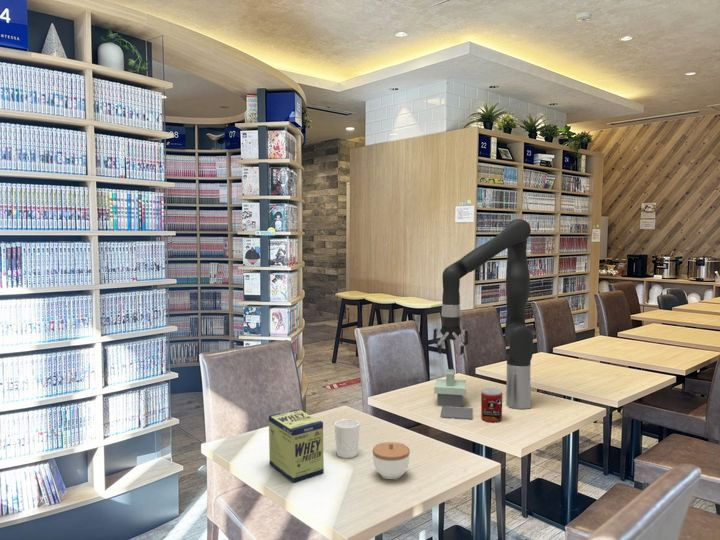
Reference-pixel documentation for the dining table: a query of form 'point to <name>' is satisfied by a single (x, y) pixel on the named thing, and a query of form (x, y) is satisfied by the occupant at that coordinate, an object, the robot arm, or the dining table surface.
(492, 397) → the canned food
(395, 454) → the lidded jar
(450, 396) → the tub
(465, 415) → the mat
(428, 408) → the dining table surface
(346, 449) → the white cup
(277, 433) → the protein box
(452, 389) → the lid
